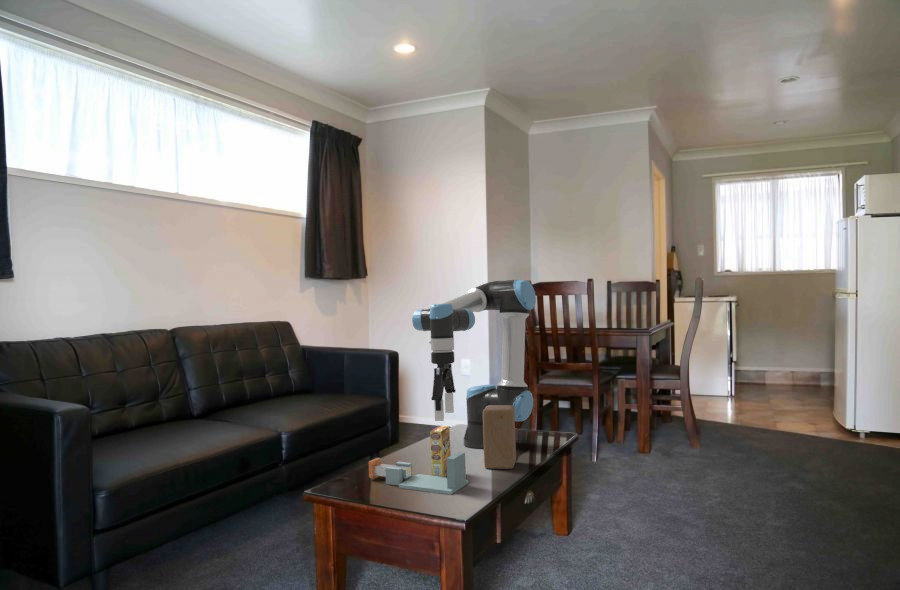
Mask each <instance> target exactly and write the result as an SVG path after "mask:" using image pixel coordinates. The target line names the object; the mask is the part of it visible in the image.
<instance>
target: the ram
mask: <svg viewBox="0 0 900 590" xmlns="http://www.w3.org/2000/svg"><path fill="white" fill-rule="evenodd" d="M387 467H397V468H402V478H404V479H403V480H405V479H406V478H408V477H410V476H411V467H405V466H396V464H386V463H382V460H381V458H380V457H376V458H374V459H371V460H369V461H368V478H370V479H374V478H375V477H379V476H380V477H386V470H385V468H387Z"/></svg>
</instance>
